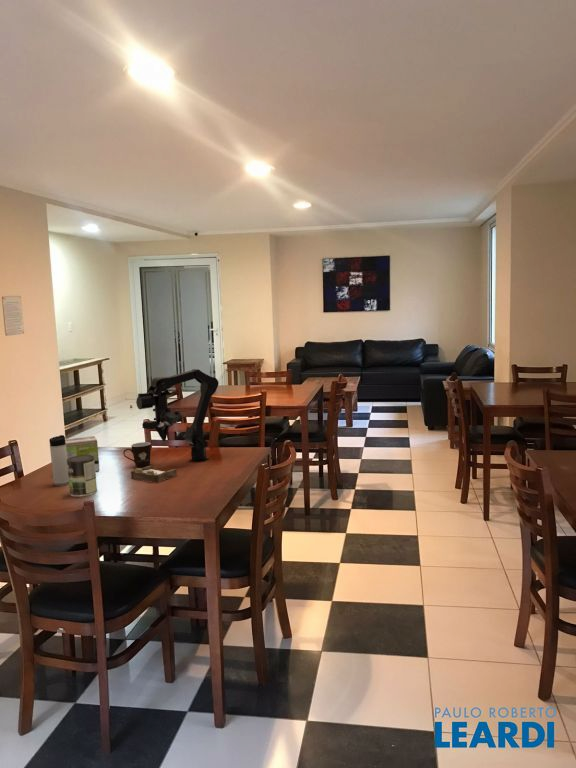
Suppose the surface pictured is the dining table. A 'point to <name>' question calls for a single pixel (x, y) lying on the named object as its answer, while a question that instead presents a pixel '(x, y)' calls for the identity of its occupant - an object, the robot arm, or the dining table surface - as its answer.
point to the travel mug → (59, 460)
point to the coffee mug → (140, 454)
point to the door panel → (154, 471)
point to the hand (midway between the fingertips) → (164, 440)
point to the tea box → (83, 448)
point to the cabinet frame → (152, 474)
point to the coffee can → (82, 475)
